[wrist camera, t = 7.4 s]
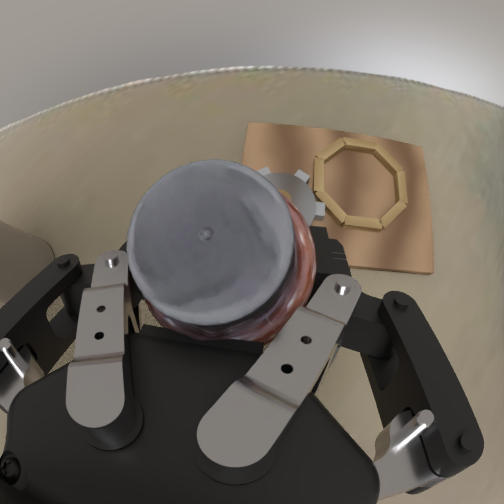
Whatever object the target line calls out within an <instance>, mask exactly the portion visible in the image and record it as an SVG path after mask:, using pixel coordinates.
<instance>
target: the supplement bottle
mask: <svg viewBox="0 0 504 504" xmlns="http://www.w3.org/2000/svg"><path fill="white" fill-rule="evenodd" d="M126 249H127V258H128V265H129V268H130V271H131V273H132V277H133V278H134V280H135V282H136V284H137V286H138V288H139V290H140V291H141V292H142V294H143V297H144V299H145V302H146V304H147V305H148V308H149V310H150V311H151V313H152V315H153V316H154V317H155V319H156V320H157V321H158V322H159V324H160V325H161V326H163V327H164V328H167V329H171V330H174V331H176V332H179V333H181V334H184V335H186V336H189V337H191V338H194V339H196V340H221V339H238V340H246V341H255V342H264V345H266V344H268V343H270V342H272V341H273V340H274V339H275V337H276V336H277V335H278V333H279V332H280V331H281V330H282V328H283V327H284V326H285V324H286V323H287V322H288V320H289V319H290V318H291V316H292V315H293V314H294V312H295V311H296V310H297V308H298V307H299V306H304V307H305V306H306V304H307V302H308V300H309V297H310V295H311V292H312V289H313V285H314V280H315V274H316V251H315V244H314V241H313V237H312V234H311V231H310V229H309V226H308V224H307V222H306V221H305V219H304V217H303V216H302V214H301V213H300V211H299V210H298V208H297V207H296V206H295V205H294V204H293V203H292V202H291V201H290V200H289V199H288V198H287V197H286V196H285V195H284V194H283V193H281V192H279V191H278V190H277V189H276V188H275V186H274V185H273V184H272V183H271V182H270V181H269V180H268V179H266V178H265V177H264V176H263V175H261V174H260V173H259V172H257V171H255V170H253V169H251V168H250V167H247V166H245V165H242V164H239V163H236V162H233V161H225V160H219V159H210V160H203V161H197V162H191V163H189V164H186V165H184V166H181V167H178V168H176V169H174V170H172V171H170V172H169V173H167V174H166V175H164V176H163V177H161V178H160V179H159V180H158V181H157V182H155V183H154V184H153V185H152V186H151V187H150V189H149V190H148V191H147V192H146V193H145V194H144V196H143V197H142V199H141V200H140V201H139V203H138V205H137V207H136V209H135V211H134V213H133V216H132V219H131V222H130V226H129V230H128V233H127V248H126Z"/></svg>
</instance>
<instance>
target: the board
mask: <svg viewBox="0 0 504 504" xmlns="http://www.w3.org/2000/svg"><path fill="white" fill-rule="evenodd" d="M242 165H245V166H247V167H250V168H251V169H253V170H255V171H257V172H259V173H260V174H261V175H263V176H264V177H265V178H266V179H268V180H269V181H270V182H271V183H272V184H273V185H274V186H275V188H276V189H277V190H278V191H279V192H281V193H283V194H284V195H285V196H286V197H287V198H288V199H289V200H290V201H291V202H292V203H293V204H294V205H295V206H296V207H297V208H298V210H299V211H300V213H301V214H302V216H303V217H304V219H305V221H306V222H307V224H308V226H310V225H311V226H320V227H326V228H327V232H328V237H329V238H330V239H337V240H338V241H339V242H340V243H341V244H342V245H343V248H344V251H345V255H346V258H347V259H346V260H347V262H348V265H349V268H358V269H369V270H380V271H391V272H403V273H414V274H426V275H430V274H433V273H434V251H433V232H432V218H431V207H430V198H429V190H428V182H427V175H426V169H425V163H424V157H423V152H422V147H420V146H416V145H412V144H407V143H403V142H398V141H394V140H389V139H384V138H379V137H373V136H368V135H362V134H356V133H350V132H344V131H337V130H329V129H322V128H313V127H304V126H294V125H283V124H269V123H252V122H248V127H247V134H246V140H245V147H244V153H243V160H242Z"/></svg>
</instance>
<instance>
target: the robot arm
mask: <svg viewBox="0 0 504 504" xmlns="http://www.w3.org/2000/svg"><path fill="white" fill-rule="evenodd" d="M309 229H310V231H311V234H312V237H313V241H314V244H315V251H316V274H315V280H314V285H313V289H312V292H311V295H310V297H309V300H308V302H307V304H306V306H305V307H304V306H299V307H298V308H297V310H296V311H295V312H294V314H293V315H292V316H291V318H290V319H289V320H288V322H287V323H286V324H285V326H284V327H283V328H282V330H281V331H280V332H279V333H278V335H277V336H276V337H275V339H274V340H273V341H272V342H271V344H270V345H269V346H268V348H267V349H266V350H265V351H264V352H263V346H264V342H255V341H246V340H238V339H221V340H196V339H194V338H191V337H189V336H186V335H184V334H181V333H179V332H176V331H174V330H171V329H167V328H161V327H156V326H151V325H146V324H143V326H142V322H141V309H140V305H139V302H140V301H141V299H143V300H145V299H144V297H143V294H142V292H141V291H140V290H139V288H138V286H137V284H136V282H135V280H134V278H133V277H132V273H131V271H130V268H129V265H128V258H127V249H126V248H127V241H126V242H125V243H124V244H123V245H122V247H121V248H120V249H119V250H112V251H108V252H105V253H103V254H102V255H100V256H99V257H98V258H97V259H96V261H95V264H87V265H81V264H80V261H79V258H78V256H76V255H74V254H67V255H63V256H60V257H58V258H56V259H54V254H53V252H52V249H51V247H50V246H49V244H48V243H47V242H45V241H43V240H41V239H39V238H37V237H35V236H32V235H30V234H28V233H26V232H24V231H21V230H19V229H17V228H15V227H13V226H10V225H8V224H6V223H4V222H2V221H0V301H2V302H7V303H6V304H5V305H4V306H3V307H2V308H1V309H0V408H1V409H2V410H3V411H4V412H5V413H7V414H8V415H7V434H6V441H5V447H4V451H3V454H2V456H1V458H0V504H376V503H377V501H378V500H382V499H385V498H389V497H392V496H395V495H398V494H401V493H404V492H405V493H408V494H418V493H420V492H423V491H425V490H427V489H429V488H431V487H433V486H435V485H437V484H439V483H441V482H443V481H445V480H447V479H449V478H450V477H452V476H454V475H456V474H458V473H459V472H461V471H463V470H464V469H466V468H468V467H469V466H471V465H473V464H474V463H475V462H477V461H478V460H479V458H480V457H481V455H482V453H483V449H484V440H483V436H482V433H481V430H480V428H479V425H478V423H477V420H476V418H475V416H474V413H473V411H472V409H471V406H470V404H469V402H468V399H467V397H466V395H465V393H464V391H463V389H462V386H461V384H460V382H459V380H458V378H457V376H456V374H455V372H454V370H453V368H452V366H451V364H450V362H449V360H448V358H447V356H446V354H445V352H444V351H443V349H442V347H441V345H440V343H439V341H438V339H437V338H436V336H435V334H434V332H433V330H432V329H431V327H430V325H429V323H428V322H427V320H426V318H425V317H424V315H423V313H422V311H421V310H420V308H419V306H418V305H417V303H416V302H415V300H414V299H413V298H412V297H410V296H409V295H407V294H405V293H403V292H399V291H390V292H387V293H386V294H385V295H384V297H383V299H379V298H375V297H372V296H369V295H367V294H365V293H363V292H362V288H361V285H360V284H359V282H358V281H357V280H355V279H354V278H352V277H351V273H350V269H349V265H348V262H347V260H346V259H347V258H346V255H345V251H344V248H343V245H342V244H341V243H340V242H339V241H338V240H337V239H330V238H329V237H328V232H327V228H326V227H320V226H311V225H310V226H309ZM59 296H61V299H62V301H63V304H64V307H63V308H62V309H61V310H60V311H59V312H58V313H57V314H56V316H55V317H54V318H53V319H52V320H51V321H50V322H49V321H48V320H47V317H46V312H47V309H48V307H49V306H50V305H51V304H52V303H53V302H54V301H55V300H56V299H57V298H58V297H59ZM75 339H76V342H75V352H74V359H73V360H72V361H71V362H69V363H68V364H66V365H64V366H62V367H60V368H59V369H57V370H55V371H53V372H51V373H49V371H50V370H51V369H52V367H53V366H54V365H55V364H56V362H57V361H58V360H59V359H60V357H61V356H62V355H63V354H64V352H65V351H66V350H67V349H68V347H69V346H70V345H71V344H72V343H73V341H74V340H75ZM341 346H342V347H345V348H348V349H351V350H354V351H358V352H360V355H361V358H362V361H363V364H364V367H365V370H366V373H367V376H368V379H369V382H370V385H371V388H372V392H373V395H374V398H375V401H376V405H377V408H378V411H379V415H380V418H381V422H382V425H383V430H382V431H381V432H380V433H379V435H378V436H377V438H376V441H375V451H376V453H375V458H374V461H372V460H371V459H370V458H369V456H368V455H367V454H366V453H365V452H364V451H363V450H362V449H361V448H360V446H359V445H358V444H357V443H356V442H355V441H354V440H353V439H352V437H351V436H350V435H349V434H348V433H347V432H346V431H345V430H344V428H343V427H342V426H341V425H340V424H339V423H338V422H337V420H336V419H335V418H334V417H333V416H332V415H331V413H330V412H329V411H328V410H327V409H326V408H325V406H324V405H323V404H322V403H321V402H320V401H319V399H318V398H317V397H316V394H317V392H318V390H319V388H320V386H321V384H322V382H323V380H324V378H325V376H326V374H327V373H328V371H329V369H330V367H331V365H332V363H333V361H334V359H335V357H336V355H337V353H338V351H339V349H340V347H341ZM48 373H49V374H48ZM47 374H48V375H47Z"/></svg>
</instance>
